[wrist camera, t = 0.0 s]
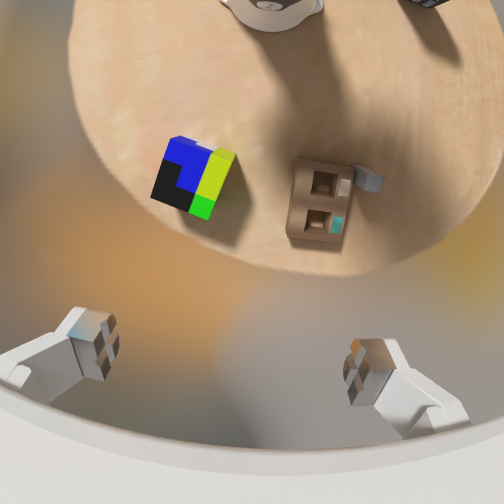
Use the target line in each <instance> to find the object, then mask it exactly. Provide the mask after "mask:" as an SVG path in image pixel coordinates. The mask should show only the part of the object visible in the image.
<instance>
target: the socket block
mask: <svg viewBox="0 0 504 504" xmlns="http://www.w3.org/2000/svg"><path fill="white" fill-rule="evenodd" d="M314 170H315V171H322V172H328V173H333V175H332V181H331V187H330V192H329V193H327V192H320V191H313V190H311V188H312V182H313V176H314ZM354 173H355V169H353V168H351V167H350V166H346V165H340V164H335V163H329V162H323V161H316V160H310V159H303V158H296V163H295V170H294V177H293V184H292V190H291V197H290V204H289V210H288V217H287V223H286V229H285V230H286V234H287V237H288V238H297V239H306V240H315V241H323V242H332V243H340V241H341V237H342V232H343V228H344V223H345V219H346V214H347V209H348V204H349V199H350V194H351V189H352V184H353V179H354ZM308 209H310V210H318V211H325V212H326V214H325V219H324V224H323V228H322V227H314V226H306V225H305V223H306V217H307V212H308Z"/></svg>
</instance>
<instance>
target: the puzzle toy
mask: <svg viewBox="0 0 504 504" xmlns="http://www.w3.org/2000/svg"><path fill="white" fill-rule="evenodd" d="M235 155H236V154H235V153H232V152H230V151H227V150H225V149H222V148H220V147H217V146H214V145H212V144H209V143H207V142H204V141H201V140H199V139H196V138H193V137H191V136H188V135H181V136H177V137H174V138H170V141H169V144H168V146H167V149H166V152H165V155H164V158H163V160H162V163H161V166H160V169H159V172H158V175H157V178H156V181H155V184H154V187H153V190H152V194H151V197H150V198H152V199H155V200H157V201H160V202H162V203H165V204H168V205H170V206H173V207H175V208H178V209H180V210H183V211H185V212H188V213H190V214H193V215H195V216H198V217H201V218H203V219H206V220H208V219H209V217H210V215H211V212H212V210H213V208H214V206H215V203H216V201H217V198H218V196H219V194H220V191H221V189H222V186H223V184H224V181H225V179H226V177H227V174H228V172H229V169H230V167H231V165H232V162H233V160H234V158H235Z"/></svg>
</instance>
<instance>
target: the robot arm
mask: <svg viewBox="0 0 504 504" xmlns="http://www.w3.org/2000/svg"><path fill="white" fill-rule="evenodd" d="M219 1H221V2H222V3H224V4H225V5H227V6H229V7H230V9H231V10H232V12H233V13H234V15H235V16H236V17H237V18H238V19H239V20H240V21H241V22H242V23H244V24H245V25H247V26H249V27H251V28H253V29H256V30H259V31H265V32H279V31H285V30H288V29H291V28H293V27H295V26H297V25H298V24H300V23H301V22H302V21H303V20H304V19H305V18H306V17H307V16H309V15H312V14H315V13H318V12H320V11H321V10H322V8H323V2H322V0H219ZM316 1H318V2H316ZM115 326H116V319H115V316H114V315H113V314H110V313H106V312H101V311H96V310H92V309H87V308H82V307H78V306H76V307H74V308H73V309H72V310H71V311H70V313H69V314H68V315H67V316H66V318H65V319H64V320H63V322H62V323H61V324H60V326H59V327H58V328H57V329H56V331H55V332H54V333H52V332H50V333H47V334H45V335H43V336H41V337H39V338H37V339H35V340H32V341H30V342H28V343H26V344H23V345H21V346H19V347H17V348H15V349H13V350H10V351H8V352H6V353H4V354H2V355H0V504H504V414H503V415H500V416H497V417H494V418H491V419H488V420H485V421H482V422H479V423H475V424H471V422H470V420H469V418H468V416H467V414H466V412H465V410H464V408H463V406H462V404H461V402H460V401H459V400H458V399H457V398H455V397H454V396H452V395H451V394H449V393H448V392H447V391H445V390H444V389H442V388H441V387H439V386H438V385H437V384H435V383H434V382H432V381H431V380H430V379H428V378H427V377H425V376H424V375H423V374H421V373H420V372H418V371H417V370H415V369H414V368H412V369H410V367H409V365H408V363H407V361H406V359H405V357H404V355H403V353H402V351H401V349H400V347H399V345H398V343H397V341H396V340H395V339H393V338H381V339H354V340H353V342H352V344H351V347H350V348H351V351H352V353H351V354H349V355H348V356H347V357H346V360H345V362H344V367H343V376H344V380H345V382H346V383H347V384H348V385H349V386H350V387H349V389H348V395H349V398H350V402H351V405H352V406H362V405H374V408H376V410H378V412H379V413H380V414H381V415H382V416H383V417H384V418H385V419H386V420H387V421H388V422H389V423H390V424H391V425H392V426H393V427H394V429H396V431H397V432H398V433H399V434H400V435H401V436H402V437H403V440H402V441H395V442H389V443H382V444H374V445H366V446H356V447H344V448H330V449H303V450H277V449H250V448H236V447H225V446H215V445H206V444H198V443H191V442H185V441H178V440H171V439H167V438H161V437H156V436H151V435H146V434H141V433H137V432H132V431H128V430H124V429H120V428H117V427H113V426H109V425H105V424H102V423H98V422H95V421H92V420H88V419H85V418H82V417H79V416H76V415H72V414H70V413H67V412H64V411H61V410H58V409H56V408H53V407H50V406H49V404H48V403H49V402H51V401H52V400H53V399H55V398H56V397H58V396H59V395H60V394H62V393H63V392H64V391H66V390H67V389H68V388H70V387H71V386H73V385H74V384H75V383H77V382H78V381H79V380H81V379H82V378H83V377H87V378H92V379H96V380H100V381H105V380H106V377H107V375H108V373H109V371H110V369H111V366H110V362H111V361H113V360H115V359H116V356H117V354H118V350H119V335H118V333H117V331H116V330H115V329H114V327H115Z"/></svg>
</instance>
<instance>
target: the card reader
mask: <svg viewBox="0 0 504 504" xmlns="http://www.w3.org/2000/svg"><path fill="white" fill-rule="evenodd" d="M411 1H413V2H416V3H418V4H420V5H422V6H425V7H427V8H433V7H435V6H438V5H440V4H442V3H445V2H447V1H449V0H411Z"/></svg>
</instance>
